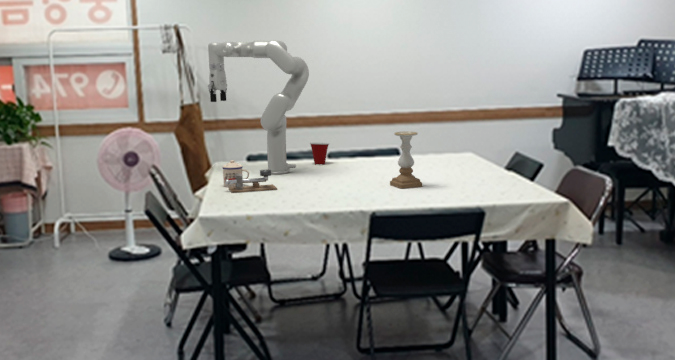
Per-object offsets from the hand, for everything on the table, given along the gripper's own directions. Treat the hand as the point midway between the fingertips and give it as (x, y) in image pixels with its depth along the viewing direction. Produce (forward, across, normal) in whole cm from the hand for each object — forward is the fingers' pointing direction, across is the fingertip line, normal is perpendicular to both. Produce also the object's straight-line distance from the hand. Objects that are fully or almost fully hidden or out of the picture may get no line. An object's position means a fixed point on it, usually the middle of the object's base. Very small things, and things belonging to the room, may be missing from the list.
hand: (218, 101), depth 348 cm
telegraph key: (+36, -43, -40) cm, 69 cm away
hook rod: (+34, -44, -39) cm, 68 cm away
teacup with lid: (+37, -36, -28) cm, 58 cm away
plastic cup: (+37, +36, -40) cm, 66 cm away
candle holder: (+37, -16, -103) cm, 111 cm away
